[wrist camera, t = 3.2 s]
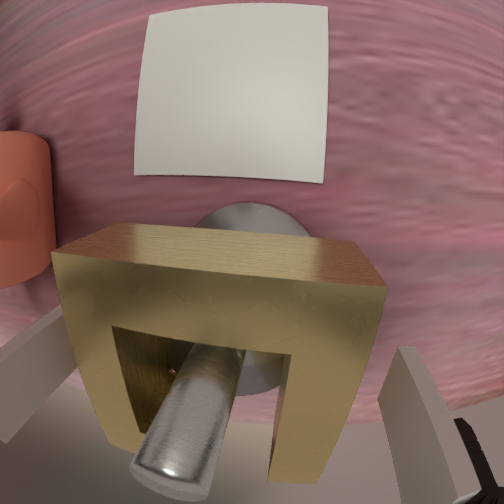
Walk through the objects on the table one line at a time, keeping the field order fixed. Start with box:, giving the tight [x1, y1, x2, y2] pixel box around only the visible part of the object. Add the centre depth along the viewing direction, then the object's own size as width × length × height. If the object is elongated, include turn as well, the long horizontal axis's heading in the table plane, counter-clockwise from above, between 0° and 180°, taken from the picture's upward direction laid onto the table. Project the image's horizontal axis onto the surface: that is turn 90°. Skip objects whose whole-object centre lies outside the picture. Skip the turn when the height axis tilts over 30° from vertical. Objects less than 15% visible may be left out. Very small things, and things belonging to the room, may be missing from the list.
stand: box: [129, 202, 311, 502], centre depth 12 cm, size 9×9×15 cm
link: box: [51, 223, 388, 484], centre depth 10 cm, size 9×9×4 cm
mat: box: [134, 3, 328, 183], centre depth 16 cm, size 12×12×1 cm
